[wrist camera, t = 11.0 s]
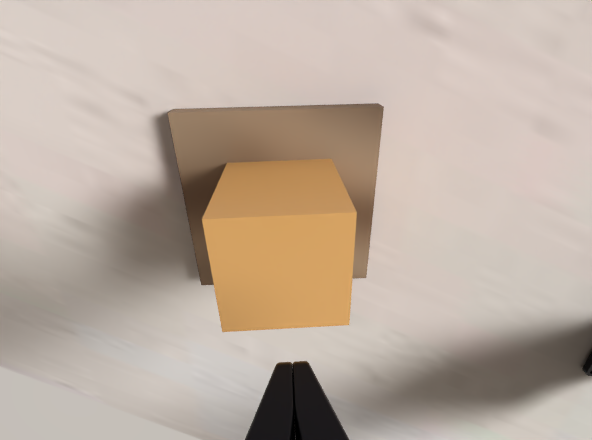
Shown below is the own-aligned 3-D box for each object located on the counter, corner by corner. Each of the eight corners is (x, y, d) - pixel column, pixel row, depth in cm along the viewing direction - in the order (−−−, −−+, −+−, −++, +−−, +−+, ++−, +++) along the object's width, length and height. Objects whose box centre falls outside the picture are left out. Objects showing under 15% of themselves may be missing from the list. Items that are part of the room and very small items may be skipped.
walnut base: (362, 267, 21) (366, 277, 20) (204, 275, 20) (201, 285, 20) (377, 103, 16) (383, 106, 15) (173, 109, 16) (167, 112, 15)
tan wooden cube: (329, 246, 19) (349, 324, 13) (238, 250, 19) (222, 332, 13) (331, 158, 16) (357, 212, 11) (227, 162, 16) (202, 219, 11)
